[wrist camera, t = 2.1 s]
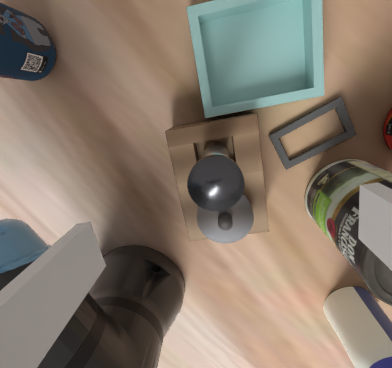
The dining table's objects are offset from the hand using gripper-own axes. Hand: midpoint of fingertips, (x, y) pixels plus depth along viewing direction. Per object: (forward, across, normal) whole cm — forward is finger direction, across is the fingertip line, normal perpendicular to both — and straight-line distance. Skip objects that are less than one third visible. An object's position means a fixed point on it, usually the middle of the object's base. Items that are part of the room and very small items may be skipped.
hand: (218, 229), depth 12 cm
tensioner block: (+21, 0, -3) cm, 21 cm away
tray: (+21, +6, +10) cm, 24 cm away
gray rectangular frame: (+21, +12, 0) cm, 24 cm away
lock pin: (+19, 0, 0) cm, 19 cm away
